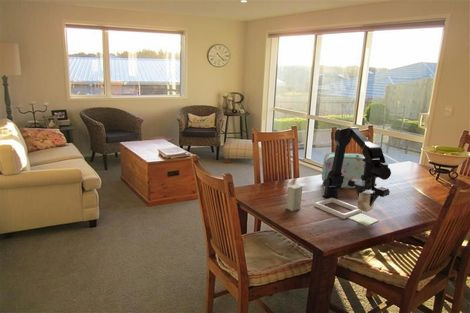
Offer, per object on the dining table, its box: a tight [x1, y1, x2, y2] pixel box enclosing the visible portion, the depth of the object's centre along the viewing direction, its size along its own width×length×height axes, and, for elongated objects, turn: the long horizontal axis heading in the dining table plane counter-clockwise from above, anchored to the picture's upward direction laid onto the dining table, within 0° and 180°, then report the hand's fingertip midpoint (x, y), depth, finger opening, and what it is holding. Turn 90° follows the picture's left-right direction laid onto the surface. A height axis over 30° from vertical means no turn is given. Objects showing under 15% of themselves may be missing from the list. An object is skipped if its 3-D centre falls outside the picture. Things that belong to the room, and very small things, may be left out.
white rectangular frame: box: [314, 198, 363, 220], centre depth 184 cm, size 18×14×2 cm
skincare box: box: [286, 183, 303, 212], centre depth 181 cm, size 6×4×12 cm
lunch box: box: [321, 152, 365, 189], centre depth 217 cm, size 27×10×21 cm, turn 89°
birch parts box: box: [356, 190, 374, 213], centre depth 170 cm, size 5×5×8 cm
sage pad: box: [347, 212, 380, 227], centre depth 172 cm, size 10×10×1 cm
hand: (365, 204), depth 170 cm, fingers closed on birch parts box, 5 cm apart
